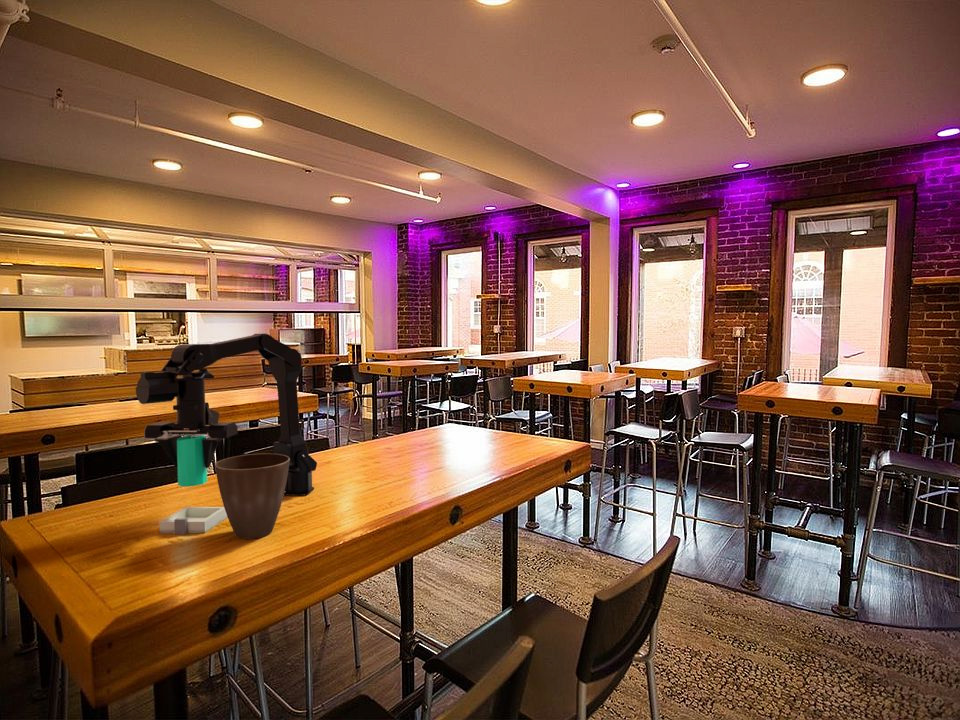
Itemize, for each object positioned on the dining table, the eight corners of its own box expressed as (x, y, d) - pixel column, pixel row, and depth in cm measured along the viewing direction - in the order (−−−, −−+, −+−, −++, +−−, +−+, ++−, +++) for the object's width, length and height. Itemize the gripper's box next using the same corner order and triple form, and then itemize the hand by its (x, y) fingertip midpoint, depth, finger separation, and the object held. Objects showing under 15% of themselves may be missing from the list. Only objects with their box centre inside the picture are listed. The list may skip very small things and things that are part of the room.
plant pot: (269, 516, 126) (267, 450, 125) (304, 531, 116) (303, 459, 116) (204, 535, 114) (202, 462, 114) (237, 552, 105) (235, 473, 104)
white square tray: (227, 517, 125) (227, 504, 125) (203, 534, 115) (202, 519, 114) (185, 517, 126) (185, 504, 125) (157, 534, 115) (156, 519, 115)
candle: (202, 485, 118) (201, 432, 118) (173, 487, 117) (172, 433, 117) (211, 478, 124) (210, 428, 124) (183, 480, 123) (182, 429, 122)
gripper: (248, 395, 128) (249, 459, 128) (172, 395, 128) (173, 459, 129) (224, 401, 116) (226, 471, 117) (141, 401, 117) (143, 470, 118)
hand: (192, 467), depth 120 cm, fingers closed on candle, 7 cm apart
